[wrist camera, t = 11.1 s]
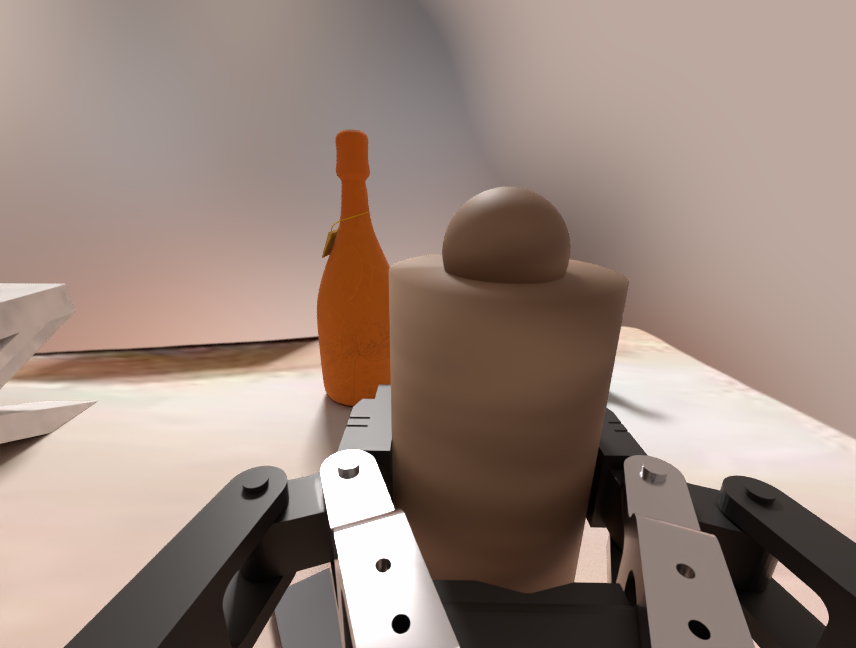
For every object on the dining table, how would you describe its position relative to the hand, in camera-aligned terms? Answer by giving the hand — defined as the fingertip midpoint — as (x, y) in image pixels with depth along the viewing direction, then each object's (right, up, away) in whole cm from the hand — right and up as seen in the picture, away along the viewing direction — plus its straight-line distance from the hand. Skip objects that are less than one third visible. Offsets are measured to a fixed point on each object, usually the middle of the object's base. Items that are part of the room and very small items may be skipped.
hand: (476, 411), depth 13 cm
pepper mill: (0, -8, 0) cm, 8 cm away
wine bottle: (-10, -6, +37) cm, 39 cm away
